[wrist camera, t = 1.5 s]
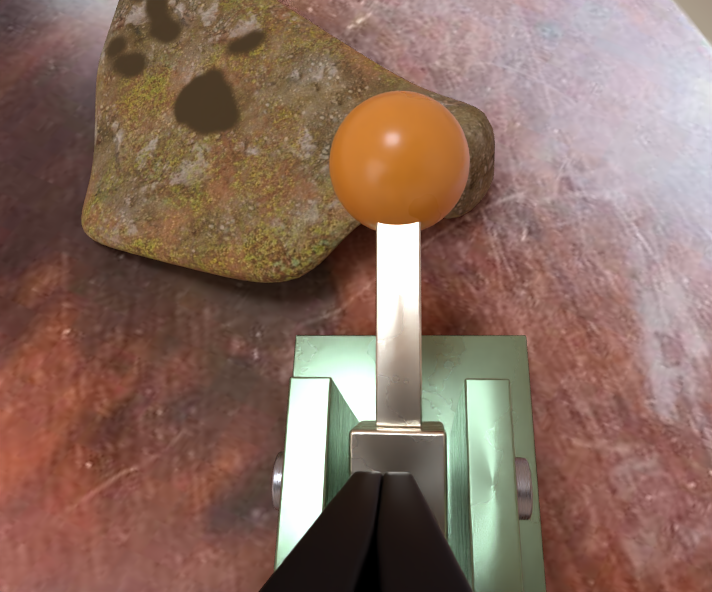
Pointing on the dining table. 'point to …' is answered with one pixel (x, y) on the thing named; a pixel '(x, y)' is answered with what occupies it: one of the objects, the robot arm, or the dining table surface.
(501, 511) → the switch bracket
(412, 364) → the switch lever
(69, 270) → the dining table surface
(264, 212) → the decorative stone
